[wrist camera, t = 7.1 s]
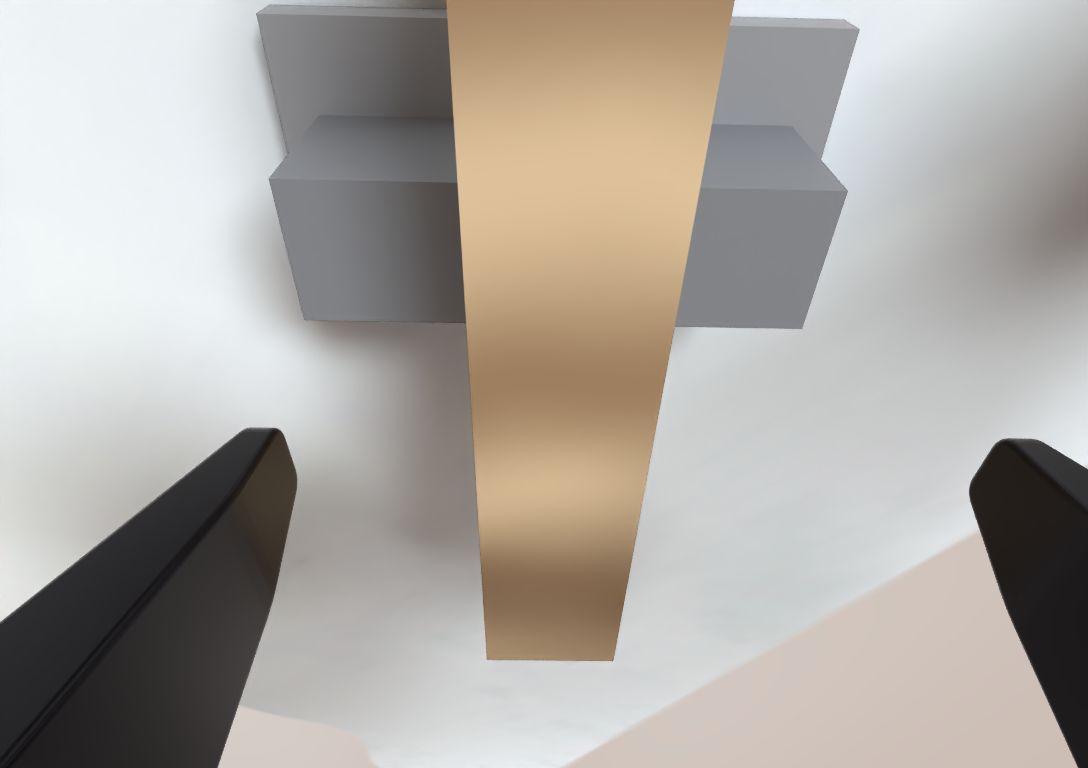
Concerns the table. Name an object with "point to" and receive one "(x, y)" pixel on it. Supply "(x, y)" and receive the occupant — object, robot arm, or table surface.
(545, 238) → the beam
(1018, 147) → the table surface
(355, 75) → the grey stepped block
